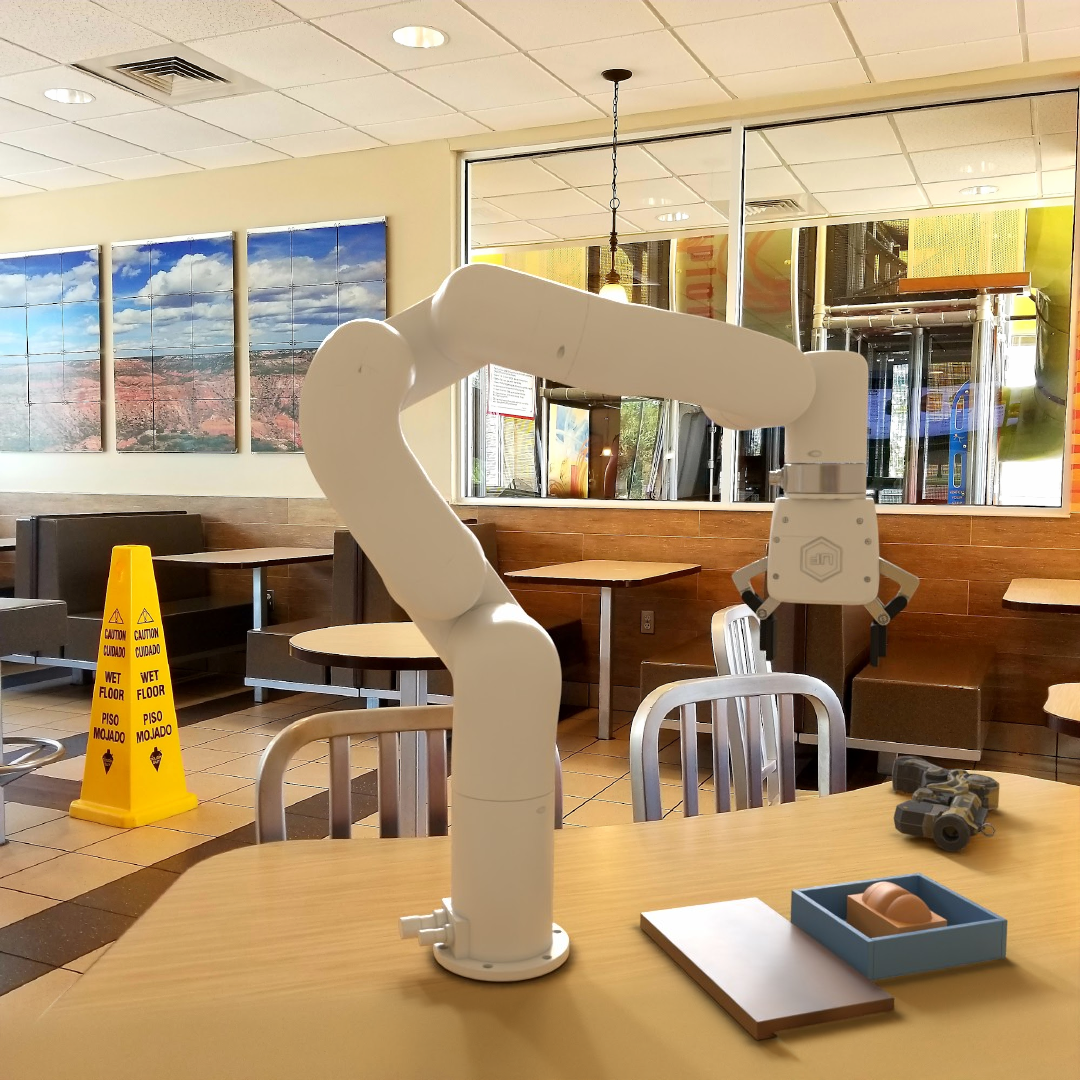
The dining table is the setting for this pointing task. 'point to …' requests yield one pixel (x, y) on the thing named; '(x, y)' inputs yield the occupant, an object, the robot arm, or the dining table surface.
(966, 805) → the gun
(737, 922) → the board
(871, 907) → the bread
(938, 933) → the bin
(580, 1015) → the dining table surface
